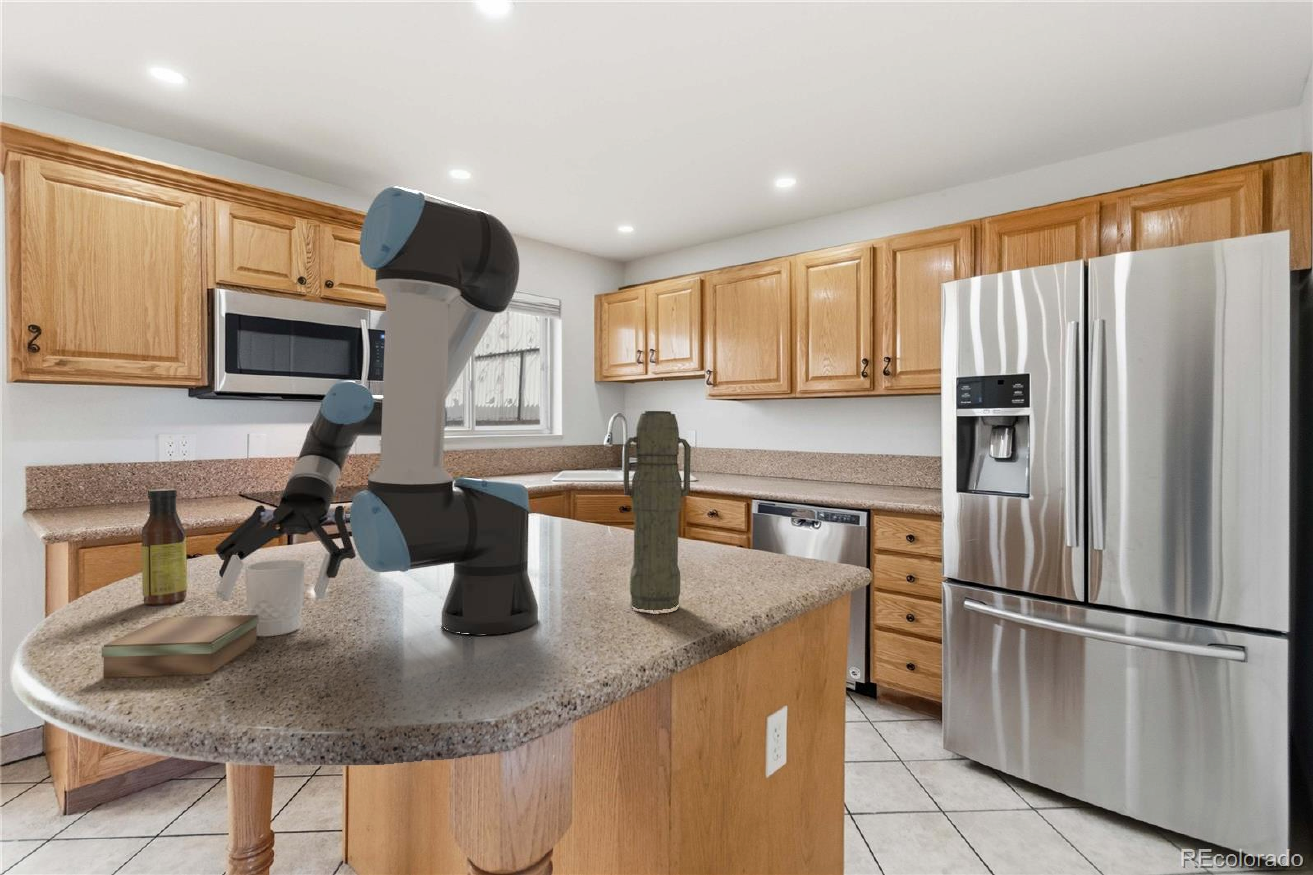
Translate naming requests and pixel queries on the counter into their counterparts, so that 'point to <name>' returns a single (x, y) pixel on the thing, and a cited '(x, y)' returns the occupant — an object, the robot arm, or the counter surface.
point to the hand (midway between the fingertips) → (270, 595)
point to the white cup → (275, 595)
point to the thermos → (656, 509)
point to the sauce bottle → (163, 551)
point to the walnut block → (180, 646)
